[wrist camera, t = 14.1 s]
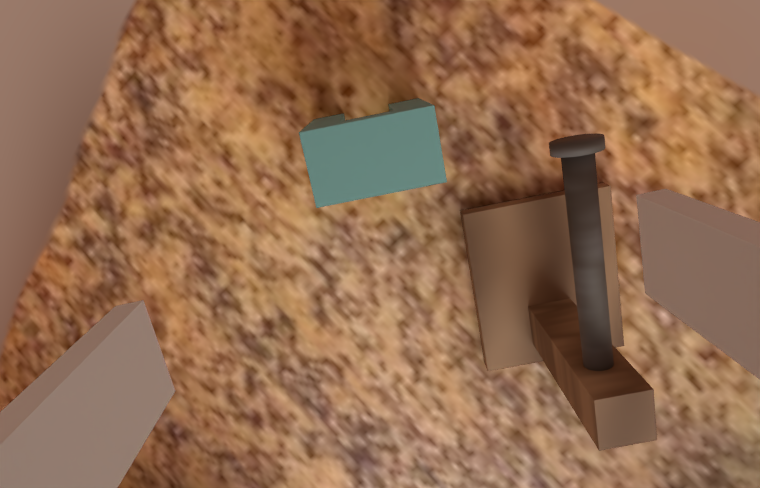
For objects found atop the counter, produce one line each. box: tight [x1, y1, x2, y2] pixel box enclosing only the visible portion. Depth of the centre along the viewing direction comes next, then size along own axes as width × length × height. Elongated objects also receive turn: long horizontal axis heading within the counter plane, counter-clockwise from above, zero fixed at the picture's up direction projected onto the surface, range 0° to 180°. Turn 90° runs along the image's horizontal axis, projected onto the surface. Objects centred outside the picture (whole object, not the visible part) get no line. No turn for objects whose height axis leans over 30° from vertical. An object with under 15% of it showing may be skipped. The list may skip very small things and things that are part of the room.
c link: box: [299, 98, 447, 208], centre depth 34 cm, size 7×4×9 cm, turn 101°
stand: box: [460, 134, 657, 451], centre depth 34 cm, size 10×17×14 cm, turn 11°
